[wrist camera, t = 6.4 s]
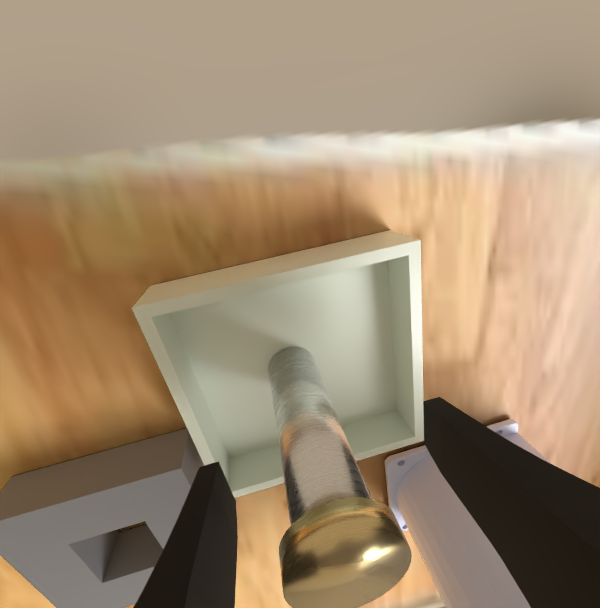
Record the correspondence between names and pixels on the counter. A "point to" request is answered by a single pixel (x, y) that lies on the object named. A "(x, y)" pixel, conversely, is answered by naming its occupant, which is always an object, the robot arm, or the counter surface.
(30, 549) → the pin block
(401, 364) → the tray
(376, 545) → the steel pin
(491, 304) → the counter surface
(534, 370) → the counter surface
